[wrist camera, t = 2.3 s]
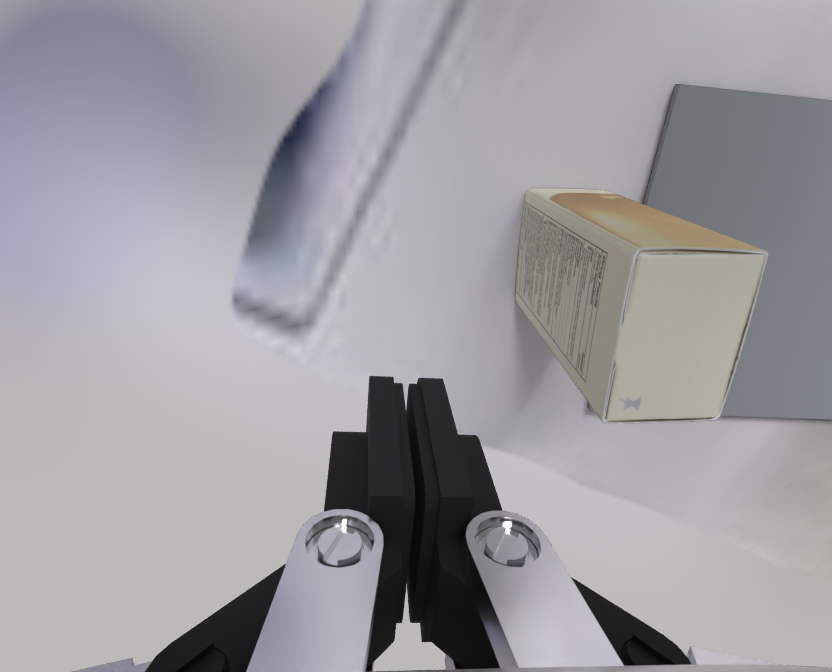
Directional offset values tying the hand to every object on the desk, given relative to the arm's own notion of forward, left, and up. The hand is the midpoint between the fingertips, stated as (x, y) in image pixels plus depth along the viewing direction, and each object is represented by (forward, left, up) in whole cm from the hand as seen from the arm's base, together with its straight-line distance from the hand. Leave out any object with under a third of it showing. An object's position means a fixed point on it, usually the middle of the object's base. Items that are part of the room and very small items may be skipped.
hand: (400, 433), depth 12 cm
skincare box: (-1, +9, -17) cm, 19 cm away
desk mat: (0, +22, -16) cm, 27 cm away
